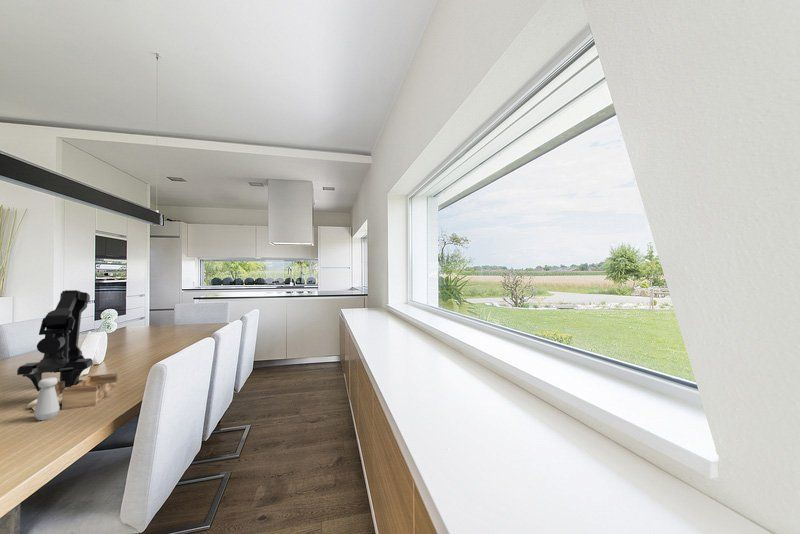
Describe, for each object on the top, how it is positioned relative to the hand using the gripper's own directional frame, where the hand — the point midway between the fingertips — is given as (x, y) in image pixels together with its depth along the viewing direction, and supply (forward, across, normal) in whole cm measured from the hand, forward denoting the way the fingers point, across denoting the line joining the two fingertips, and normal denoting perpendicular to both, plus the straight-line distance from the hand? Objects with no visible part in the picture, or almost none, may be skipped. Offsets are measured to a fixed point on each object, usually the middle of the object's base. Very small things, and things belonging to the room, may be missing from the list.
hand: (56, 389), depth 120 cm
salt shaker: (+4, +4, -18) cm, 19 cm away
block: (-2, +17, -6) cm, 18 cm away
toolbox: (+4, +10, -1) cm, 11 cm away
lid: (+4, 0, -3) cm, 5 cm away
